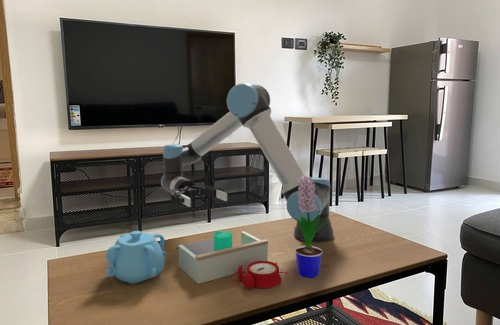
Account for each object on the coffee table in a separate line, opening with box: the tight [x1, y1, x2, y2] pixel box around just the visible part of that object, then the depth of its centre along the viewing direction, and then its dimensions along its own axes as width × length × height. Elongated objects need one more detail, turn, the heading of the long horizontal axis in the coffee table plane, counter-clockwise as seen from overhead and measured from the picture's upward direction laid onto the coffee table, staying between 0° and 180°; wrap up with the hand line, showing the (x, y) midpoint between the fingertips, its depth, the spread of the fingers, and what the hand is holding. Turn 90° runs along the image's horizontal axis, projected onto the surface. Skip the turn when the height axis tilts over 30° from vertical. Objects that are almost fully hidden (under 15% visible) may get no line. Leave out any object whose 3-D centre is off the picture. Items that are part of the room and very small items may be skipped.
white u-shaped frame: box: [178, 231, 269, 285], centre depth 120 cm, size 24×14×8 cm, turn 123°
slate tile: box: [176, 238, 214, 256], centre depth 133 cm, size 14×14×1 cm
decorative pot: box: [105, 230, 167, 285], centre depth 113 cm, size 16×16×14 cm
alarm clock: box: [230, 260, 288, 290], centre depth 109 cm, size 11×6×15 cm
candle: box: [213, 230, 233, 251], centre depth 120 cm, size 6×6×12 cm
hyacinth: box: [294, 175, 328, 279], centre depth 112 cm, size 9×10×30 cm
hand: (208, 199), depth 126 cm, fingers open, 13 cm apart
